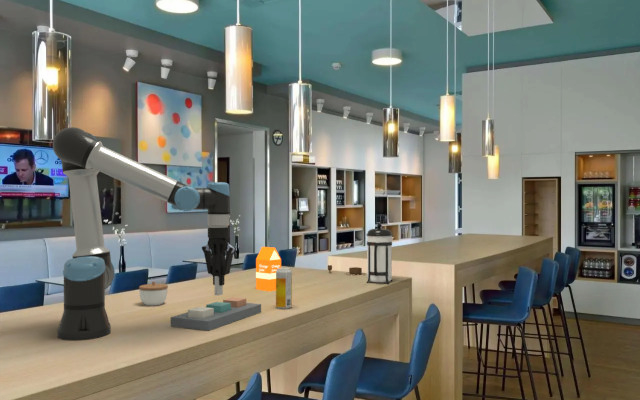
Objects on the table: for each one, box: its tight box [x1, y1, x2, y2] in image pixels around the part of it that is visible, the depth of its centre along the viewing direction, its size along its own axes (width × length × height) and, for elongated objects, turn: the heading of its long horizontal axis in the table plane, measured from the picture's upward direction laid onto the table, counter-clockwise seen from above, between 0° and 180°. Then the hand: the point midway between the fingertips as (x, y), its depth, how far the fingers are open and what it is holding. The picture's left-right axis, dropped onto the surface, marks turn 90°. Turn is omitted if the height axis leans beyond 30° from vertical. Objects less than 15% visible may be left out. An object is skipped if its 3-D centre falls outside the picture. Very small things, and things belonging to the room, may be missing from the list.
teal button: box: [205, 301, 231, 313], centre depth 189 cm, size 6×6×3 cm
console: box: [170, 302, 262, 332], centre depth 189 cm, size 32×15×3 cm, turn 155°
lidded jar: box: [138, 281, 169, 307], centre depth 214 cm, size 11×11×9 cm
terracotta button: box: [222, 296, 247, 308], centre depth 198 cm, size 6×6×3 cm
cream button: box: [187, 306, 214, 318], centre depth 180 cm, size 6×6×3 cm
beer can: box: [275, 267, 293, 310], centre depth 209 cm, size 6×6×15 cm
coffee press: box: [366, 223, 393, 285], centre depth 270 cm, size 17×16×30 cm
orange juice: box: [255, 246, 282, 292], centre depth 250 cm, size 8×9×20 cm
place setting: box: [327, 264, 367, 276], centre depth 304 cm, size 18×20×6 cm
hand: (218, 294), depth 189 cm, fingers closed
